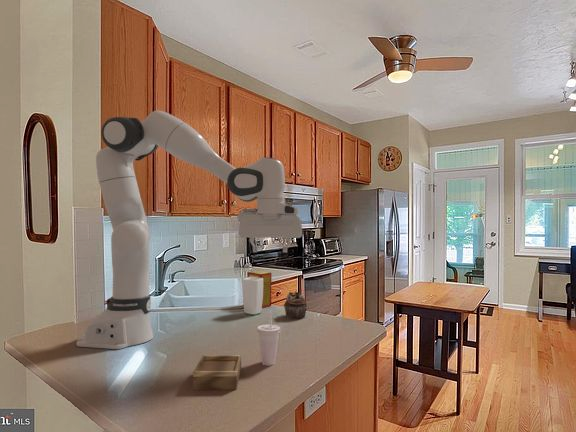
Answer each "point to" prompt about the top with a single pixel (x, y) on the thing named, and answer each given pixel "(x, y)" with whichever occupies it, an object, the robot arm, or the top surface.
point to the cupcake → (295, 306)
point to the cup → (252, 295)
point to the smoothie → (268, 342)
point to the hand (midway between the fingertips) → (270, 252)
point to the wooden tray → (217, 372)
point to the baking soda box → (264, 286)
